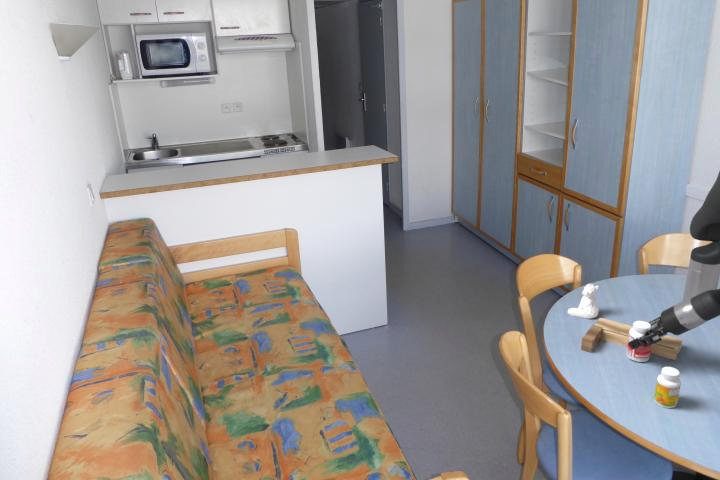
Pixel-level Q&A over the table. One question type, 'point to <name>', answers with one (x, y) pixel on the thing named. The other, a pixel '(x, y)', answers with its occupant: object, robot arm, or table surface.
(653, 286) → the table surface
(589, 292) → the seated beast figurine
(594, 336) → the wooden l-shaped block
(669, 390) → the supplement bottle
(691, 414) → the table surface
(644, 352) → the pill bottle
